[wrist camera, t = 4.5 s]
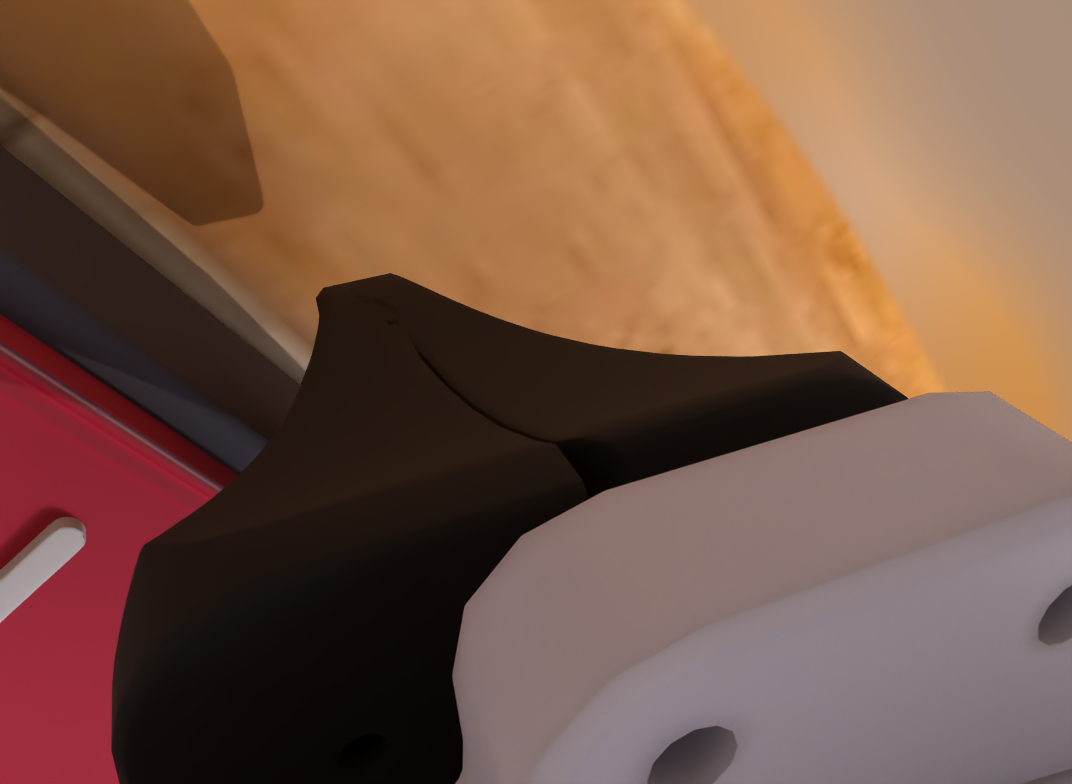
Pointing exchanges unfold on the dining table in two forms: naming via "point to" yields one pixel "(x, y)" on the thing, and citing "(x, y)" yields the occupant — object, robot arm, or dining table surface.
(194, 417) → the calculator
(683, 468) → the robot arm
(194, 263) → the dining table surface
